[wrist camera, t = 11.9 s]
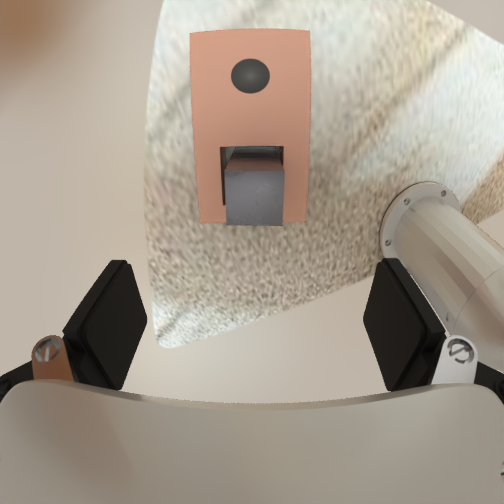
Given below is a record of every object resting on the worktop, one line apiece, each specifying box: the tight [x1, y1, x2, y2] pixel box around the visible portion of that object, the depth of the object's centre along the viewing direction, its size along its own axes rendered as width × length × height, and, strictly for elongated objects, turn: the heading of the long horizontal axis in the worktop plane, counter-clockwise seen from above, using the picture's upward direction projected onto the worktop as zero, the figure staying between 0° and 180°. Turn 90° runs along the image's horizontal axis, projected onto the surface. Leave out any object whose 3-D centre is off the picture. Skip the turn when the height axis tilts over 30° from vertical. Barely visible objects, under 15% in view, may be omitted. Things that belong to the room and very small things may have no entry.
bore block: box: [190, 29, 311, 223], centre depth 24 cm, size 18×10×4 cm, turn 1°
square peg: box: [225, 147, 285, 226], centre depth 23 cm, size 4×4×10 cm
